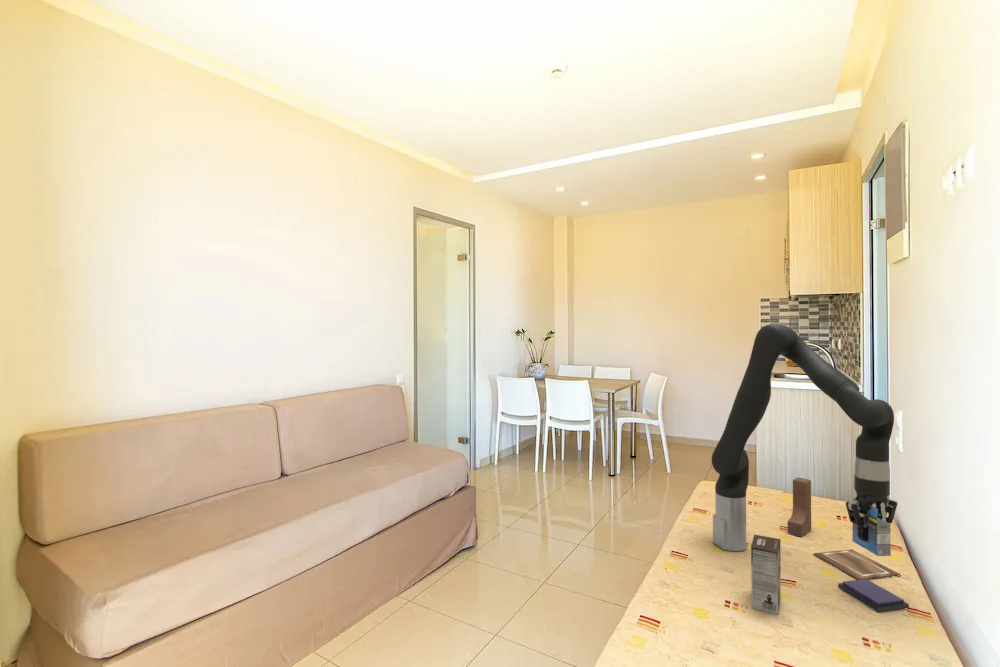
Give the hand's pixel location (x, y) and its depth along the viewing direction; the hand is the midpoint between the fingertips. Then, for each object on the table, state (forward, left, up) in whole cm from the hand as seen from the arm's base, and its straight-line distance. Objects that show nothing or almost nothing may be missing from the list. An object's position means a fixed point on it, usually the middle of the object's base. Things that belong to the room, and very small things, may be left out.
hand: (871, 539), depth 130 cm
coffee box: (-29, +3, -16) cm, 33 cm away
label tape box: (0, 0, -3) cm, 3 cm away
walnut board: (+11, +16, -16) cm, 25 cm away
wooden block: (+13, +40, -16) cm, 45 cm away
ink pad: (0, 0, -16) cm, 16 cm away
